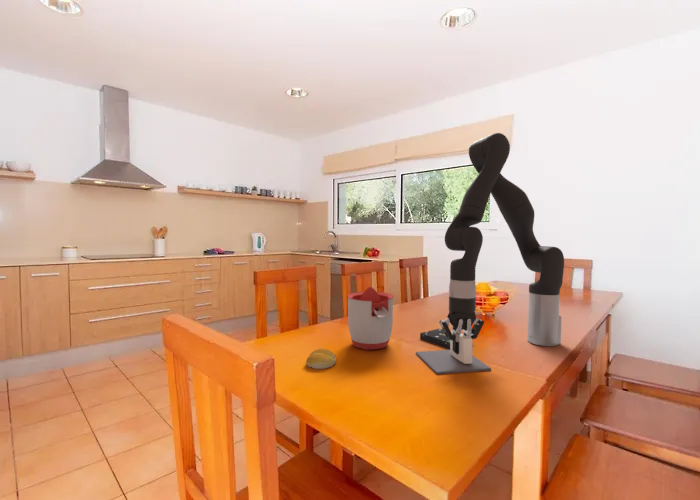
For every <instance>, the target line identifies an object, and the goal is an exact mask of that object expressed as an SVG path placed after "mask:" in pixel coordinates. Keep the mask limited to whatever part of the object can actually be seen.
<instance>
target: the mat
mask: <svg viewBox="0 0 700 500" xmlns="http://www.w3.org/2000/svg"><path fill="white" fill-rule="evenodd" d="M415 355H417V357H418V358H419V359H421V361H423V362H424V363H425V364H426V366H428V368H430V369H431V370H432V371H433V372H434V373H435V374H436V375H444V374H457V373H459V374H460V373H471V372H483V371H485V372H486V371H488V372H489V371H491V370H492V367H490V366H489V365H488V364H486V363H484V362H483V361H481V360H480V359H479V358H477V357H476V356H474V355H473V354H472V363H470V364H464V363H462V362H461V361H459V360H458V359H456V358H455V357H453V356H452V355H450V349H442V350H439V349H438V350H437V349H436V350H425V351H423V350H422V351H415Z"/></svg>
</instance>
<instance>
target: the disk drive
mask: <svg viewBox="0 0 700 500" xmlns="http://www.w3.org/2000/svg"><path fill="white" fill-rule="evenodd" d="M419 339H420V340H423V341H425V342H428V343H431V344H434V345H436V346H437V345H438V346H440V347H443V348H446V349H447V350H450V339H449V338H447V337H446V335H445V333H444V331H443V329H442V328H436V329H433V330H432V329H431V330H428V331H427V332H426V331H424V332H420V333H419Z"/></svg>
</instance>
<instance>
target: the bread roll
mask: <svg viewBox="0 0 700 500" xmlns="http://www.w3.org/2000/svg"><path fill="white" fill-rule="evenodd" d="M336 360H337V359H336V355H335V354H334V352H333V351H332V350H330V349H327V348H323V347H322V348H317V349H315V350H313V351H312V352H311V353H310V354H309V356H308V357H307V358H306V361H305V363H306V366H307V367H308V368H309V367H310V368H311V367H312V368H311V369H316V370H323V369H328V368H331V367H333V366H335V363H336Z"/></svg>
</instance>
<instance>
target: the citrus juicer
mask: <svg viewBox="0 0 700 500" xmlns="http://www.w3.org/2000/svg"><path fill="white" fill-rule="evenodd" d="M394 298H395V297H394V295H393V294H391V293H389V292H388V293H387V292H383V291H377V290H375V289H374V287H372V286H369V287H367V288H366V289H365V291H358V292H357V291H356V292H352V293H349V294H347V320H348V321H347V322H348V323H347V324H348V332H349V334H350V335H349V336H350V339H351V343H352V344H353V346H354V347H356V348H358V349H362V350H363V351H369V350H380V349H383V348H386V347H387V346H388V344H389V343H390V340H391V335H392V331H393V330H392V329H393V325H394V324H393V323H394V322H393V319H394V317H393V315H394V313H393V309H394V307H393V306H394Z"/></svg>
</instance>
